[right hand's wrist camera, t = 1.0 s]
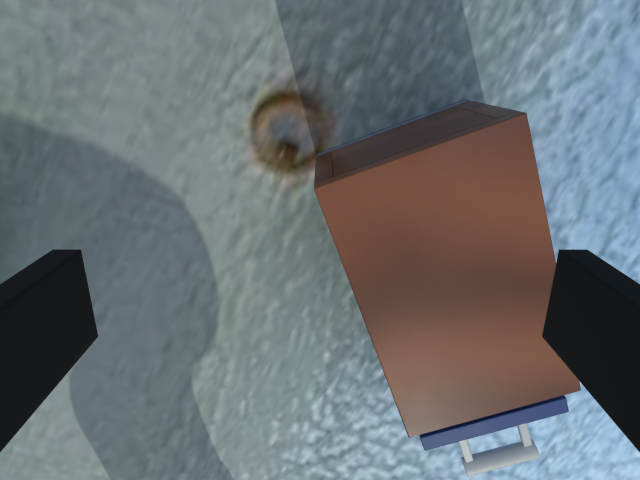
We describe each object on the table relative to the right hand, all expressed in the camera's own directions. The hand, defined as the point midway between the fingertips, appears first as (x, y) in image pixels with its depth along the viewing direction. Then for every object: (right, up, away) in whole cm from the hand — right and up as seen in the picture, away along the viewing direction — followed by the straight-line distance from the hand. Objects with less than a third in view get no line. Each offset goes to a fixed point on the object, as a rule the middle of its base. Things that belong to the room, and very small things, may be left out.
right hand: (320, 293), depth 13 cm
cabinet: (+8, +2, +22) cm, 23 cm away
